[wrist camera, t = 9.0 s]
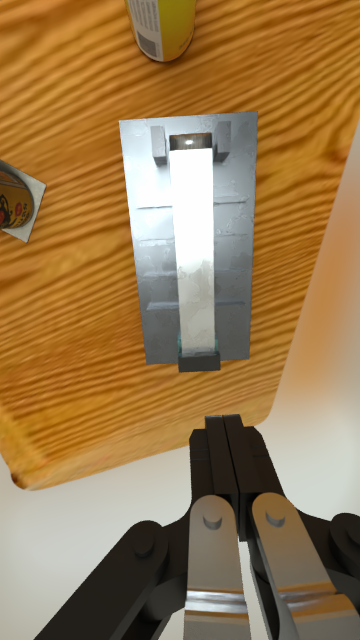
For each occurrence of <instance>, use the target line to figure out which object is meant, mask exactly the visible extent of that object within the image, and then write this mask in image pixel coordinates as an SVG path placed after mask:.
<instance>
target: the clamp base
mask: <svg viewBox="0 0 360 640" xmlns="http://www.w3.org/2000/svg"><path fill="white" fill-rule="evenodd" d="M257 122H258V111H254V112H239V113H224V114H209V115H194V116H179V117H164V118H150V119H135V120H120V121H119V125H120V134H121V143H122V152H123V160H124V169H125V178H126V187H127V196H128V205H129V214H130V222H131V231H132V240H133V249H134V258H135V267H136V275H137V284H138V293H139V302H140V311H141V320H142V329H143V337H144V346H145V355H146V364H166V363H178V353H182V343H181V327H180V310H179V294H178V277H177V261H176V244H175V228H174V211H173V195H172V178H171V162H170V146H169V135H176V134H191V133H207V132H212V183H213V257H214V330H215V351H219V353H220V361H224V360H243V359H249V349H250V321H251V292H252V264H253V236H254V207H255V179H256V151H257Z"/></svg>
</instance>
